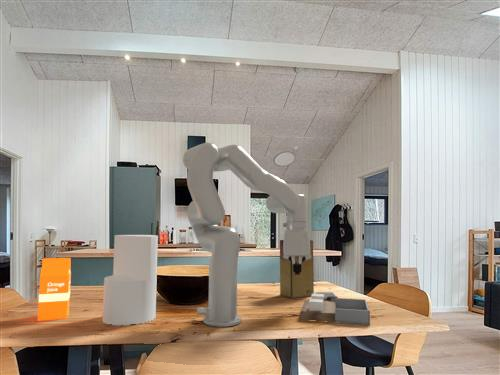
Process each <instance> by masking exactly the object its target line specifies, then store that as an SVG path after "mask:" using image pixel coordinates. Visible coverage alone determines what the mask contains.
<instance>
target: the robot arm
mask: <svg viewBox="0 0 500 375" xmlns="http://www.w3.org/2000/svg"><path fill="white" fill-rule="evenodd" d="M182 162H183V165H184V167H185V168H186V169H187V174H186V175H187V176H186V182H187V188H188V191H189V193H190V196H191V199H192V201H191V202H190V203H189V205H188V206H187V212H186V213H187V219H188V222H189V225H190V227H191V229H192V231H193V233H194V236H195V238H196V240H197V242H198V244H199V246H200V247H201V249H203V251H205V252H208V253H211V256H210V259H209V264H208V306H206V307H201V306H200V307H197V308H196V313H197V315H204V316H205V317H203V323H204V324H205V325H207V326H211V327H217V328H218V327H219V328H220V327H223V328H224V327H225V328H226V327H233V326H236V325H239V324H241V323H242V317H241V316H240V315H238V261H239V253H240V248H241V236H240V234H239V233H238V231H237V230H236V229H235V228H233V227H231V226H227V225H219V224H220V223H222V222H223V220H224V219H225V217H226V210H225V207H224V205H223V203H222V200H221V198H220V195H219V192H218V190H217V188H216V185H215V182H214V172H225V171H231V173H233V174H234V175H235V176H236V177H237V178H238V180H240V181H241V182H242V183H243V184H244V185H245V186H246V187H248V188H249V189H252V190H254V191H258V192H261V193H264V194H267V195H268V197H267V198H266V200H265V206H266V208H267V211H269V212H271V213H273V214H286V222H284V223H282V226H283V227H284V228H286V229H284V233H283V240H284V241H283V253H284V255H283V258H285V259H289V260H290V261H291V262H292V263H293V272H295V275H297V274H298V275H300V272H302V268H301V263H302V262H303V261H304V260H307V259H311V254H310V240H311V239H310V231H309V229H307V204H306V203H307V202H306V201H307V198H306V196H305V194H301V193H297V192H295V190H294V189H293V188H292V187H291V186H290V185H289V184H288V183H286V182H285V181H284V180H283V179H280V178H279V177H278V176H275V175H274V174H272V173H270V172H269V171H266V170H265V169H263V167H262V166H260V165H259V164H258V162H257V161H256V160H254V159H253V157H251V155H249V153H248V152H247V151H245V149H244V148H242V147H241V146H240V145H238V144H229V145H226V146H223V147H217V146H216V145H215V144H214V143H212V142H204V143H201V144H198V145H196V146H193V147H190V148H189V149H187V150H186V151H185V152H184V154H183V157H182ZM295 256H299V262H298V264H297V262H296V258H295ZM303 256H305V257H303Z"/></svg>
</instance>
